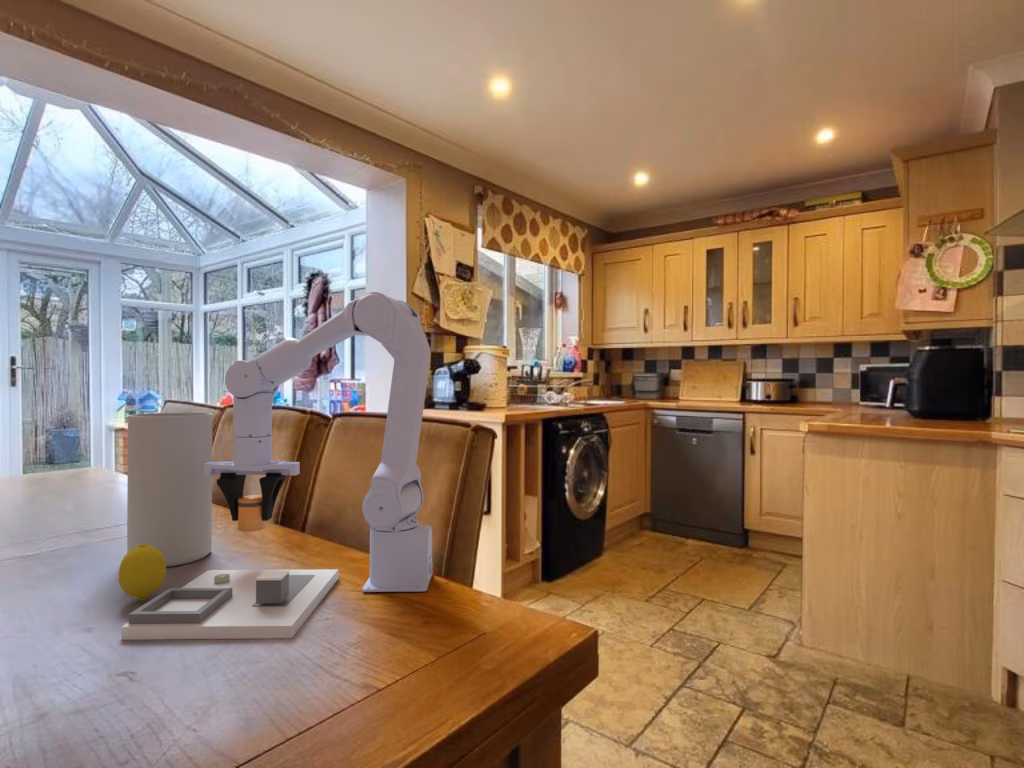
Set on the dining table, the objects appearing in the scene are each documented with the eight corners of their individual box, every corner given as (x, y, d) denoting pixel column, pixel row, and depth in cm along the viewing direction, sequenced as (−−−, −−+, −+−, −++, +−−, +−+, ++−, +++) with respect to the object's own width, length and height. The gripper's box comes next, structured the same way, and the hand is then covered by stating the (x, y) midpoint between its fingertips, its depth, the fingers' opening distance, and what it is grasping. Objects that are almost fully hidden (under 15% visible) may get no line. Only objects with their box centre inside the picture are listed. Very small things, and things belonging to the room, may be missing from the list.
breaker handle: (288, 595, 74) (288, 570, 74) (280, 603, 72) (281, 577, 72) (264, 595, 74) (265, 570, 74) (255, 603, 72) (256, 578, 72)
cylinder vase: (109, 563, 93) (110, 415, 93) (179, 543, 104) (180, 411, 104) (160, 574, 88) (161, 417, 88) (227, 551, 100) (228, 413, 99)
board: (338, 578, 86) (338, 561, 86) (291, 638, 66) (291, 615, 66) (208, 579, 86) (208, 562, 86) (121, 639, 66) (121, 617, 66)
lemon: (142, 610, 74) (142, 550, 74) (108, 606, 75) (108, 547, 75) (175, 594, 79) (175, 539, 79) (142, 591, 81) (143, 536, 81)
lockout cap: (270, 524, 92) (270, 494, 92) (259, 531, 88) (260, 500, 88) (244, 524, 92) (245, 494, 92) (232, 531, 87) (233, 500, 87)
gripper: (306, 433, 94) (305, 513, 94) (219, 433, 93) (219, 513, 93) (291, 437, 87) (290, 524, 87) (197, 437, 86) (196, 524, 86)
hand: (252, 519), depth 90 cm, fingers closed on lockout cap, 4 cm apart
